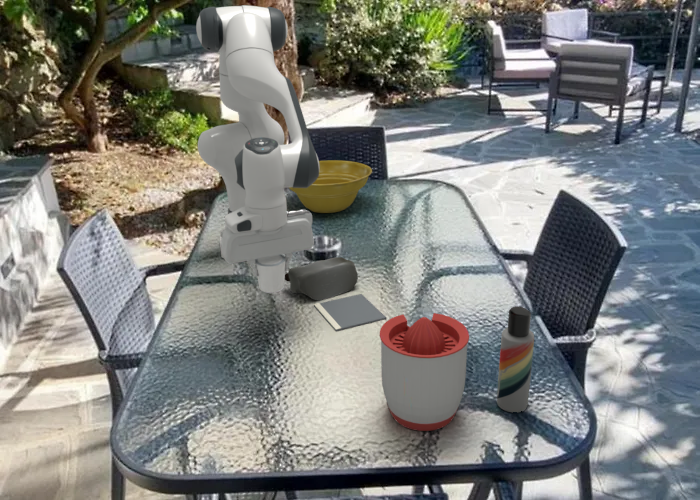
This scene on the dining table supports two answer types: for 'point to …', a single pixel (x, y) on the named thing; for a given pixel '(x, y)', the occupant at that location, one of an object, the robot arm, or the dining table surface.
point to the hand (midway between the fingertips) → (270, 272)
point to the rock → (323, 278)
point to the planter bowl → (334, 186)
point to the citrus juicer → (423, 370)
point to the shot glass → (271, 273)
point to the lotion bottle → (515, 361)
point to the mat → (349, 312)
